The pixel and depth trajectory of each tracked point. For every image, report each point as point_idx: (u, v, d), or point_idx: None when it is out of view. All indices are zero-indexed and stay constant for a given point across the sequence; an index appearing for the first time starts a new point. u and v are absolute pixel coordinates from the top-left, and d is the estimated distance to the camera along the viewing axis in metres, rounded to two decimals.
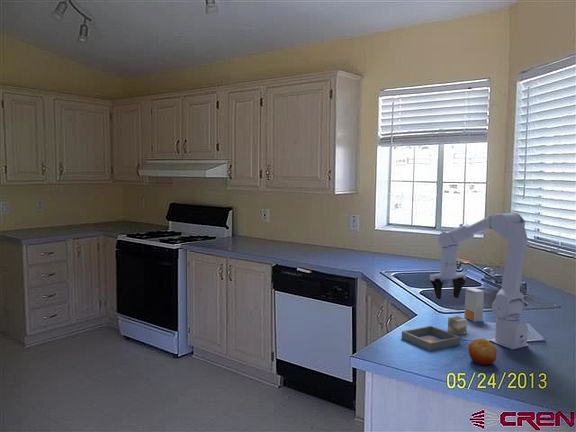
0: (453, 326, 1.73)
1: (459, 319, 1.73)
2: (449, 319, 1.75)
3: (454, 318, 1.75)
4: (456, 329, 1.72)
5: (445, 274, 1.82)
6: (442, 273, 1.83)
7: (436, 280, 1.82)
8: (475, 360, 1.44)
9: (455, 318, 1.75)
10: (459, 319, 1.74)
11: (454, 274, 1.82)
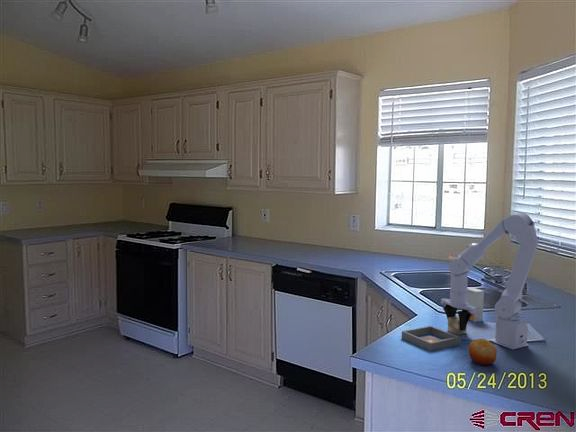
0: (453, 326, 1.73)
1: None
2: (449, 319, 1.75)
3: (454, 318, 1.75)
4: (456, 329, 1.72)
5: (449, 301, 1.75)
6: None
7: None
8: (475, 360, 1.44)
9: (455, 318, 1.75)
10: None
11: (455, 303, 1.72)
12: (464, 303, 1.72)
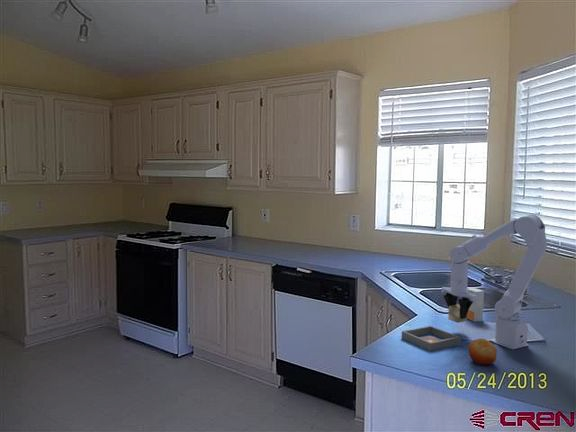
0: (454, 314, 1.73)
1: None
2: (450, 307, 1.75)
3: (455, 306, 1.74)
4: (457, 317, 1.72)
5: (450, 289, 1.75)
6: None
7: None
8: (475, 360, 1.44)
9: (456, 306, 1.74)
10: (459, 307, 1.73)
11: (455, 291, 1.71)
12: (465, 291, 1.71)
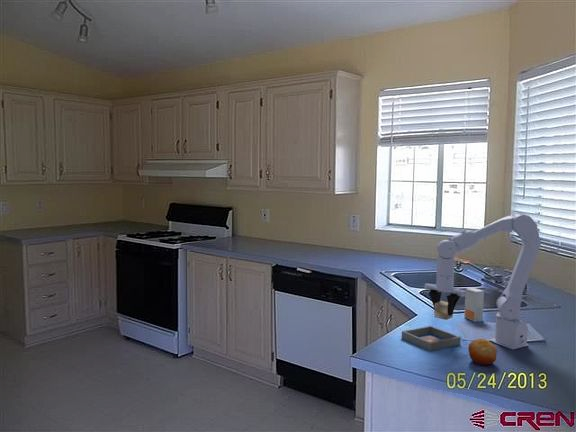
0: (441, 311, 1.67)
1: (447, 304, 1.67)
2: (436, 304, 1.68)
3: (441, 303, 1.68)
4: (445, 314, 1.66)
5: (436, 285, 1.68)
6: None
7: None
8: (475, 360, 1.44)
9: (442, 303, 1.68)
10: (445, 303, 1.68)
11: (443, 287, 1.65)
12: (452, 287, 1.66)
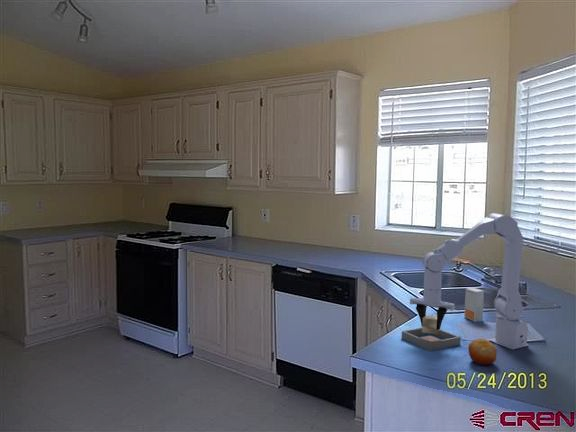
0: (430, 326, 1.62)
1: (434, 318, 1.63)
2: (424, 319, 1.63)
3: (428, 317, 1.64)
4: (434, 329, 1.61)
5: (423, 300, 1.63)
6: (423, 298, 1.64)
7: None
8: (475, 360, 1.44)
9: (429, 317, 1.64)
10: (433, 317, 1.64)
11: (432, 302, 1.61)
12: (440, 300, 1.62)
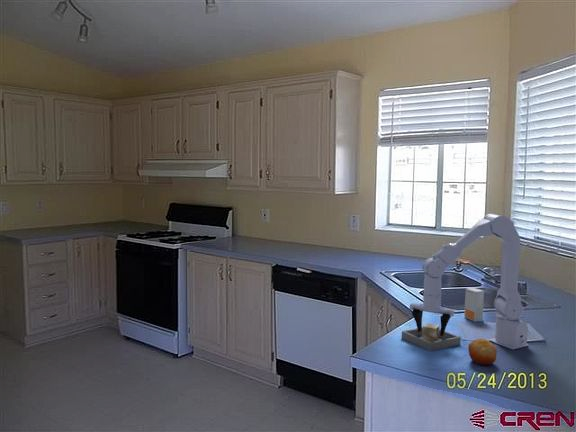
0: (429, 334, 1.62)
1: (434, 326, 1.63)
2: (424, 328, 1.63)
3: (428, 326, 1.64)
4: (434, 337, 1.62)
5: (423, 305, 1.63)
6: (423, 304, 1.64)
7: (414, 310, 1.66)
8: (475, 360, 1.44)
9: (429, 326, 1.64)
10: (433, 326, 1.64)
11: (432, 307, 1.61)
12: (440, 306, 1.62)
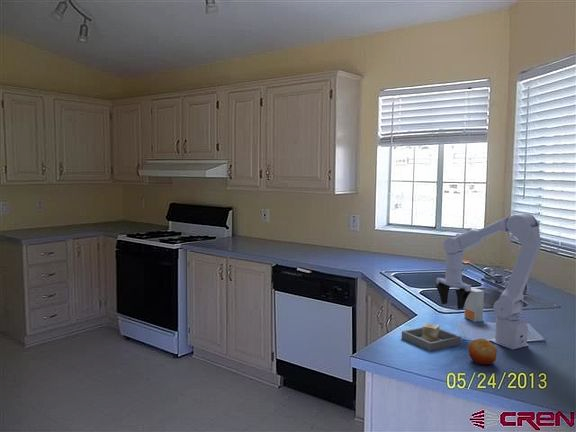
0: (429, 334, 1.62)
1: (434, 326, 1.63)
2: (424, 328, 1.63)
3: (428, 326, 1.64)
4: (434, 337, 1.62)
5: (445, 279, 1.78)
6: None
7: (439, 284, 1.82)
8: (475, 360, 1.44)
9: (429, 326, 1.64)
10: (433, 326, 1.64)
11: (450, 281, 1.75)
12: (459, 281, 1.75)
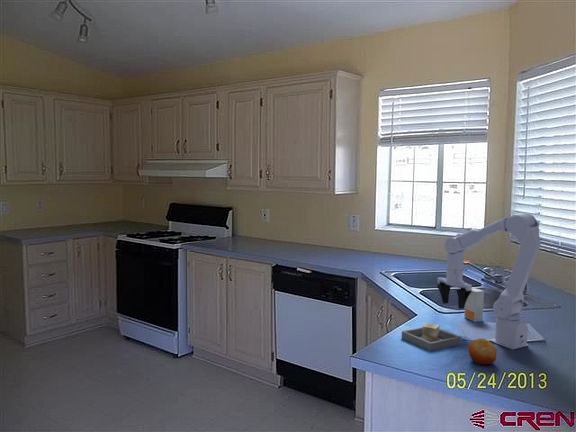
0: (429, 334, 1.62)
1: (434, 326, 1.63)
2: (424, 328, 1.63)
3: (428, 326, 1.64)
4: (434, 337, 1.62)
5: (446, 279, 1.79)
6: None
7: (440, 283, 1.82)
8: (475, 360, 1.44)
9: (429, 326, 1.64)
10: (433, 326, 1.64)
11: (451, 281, 1.76)
12: (460, 281, 1.75)
